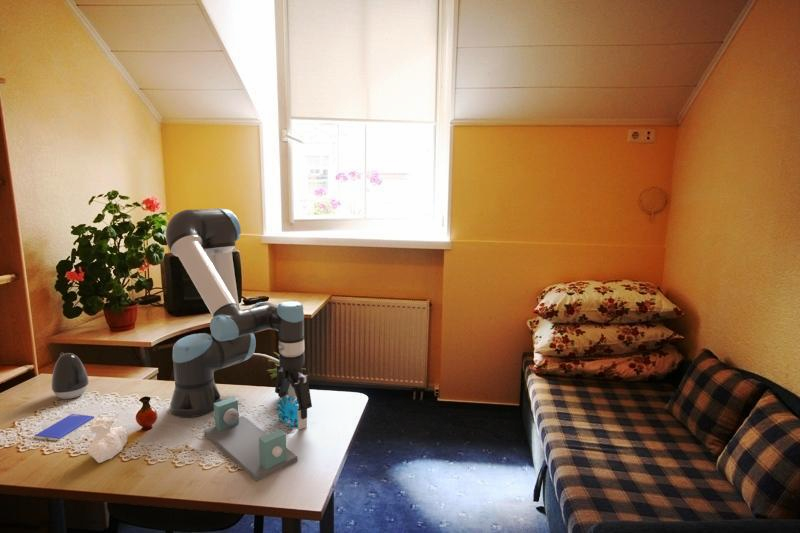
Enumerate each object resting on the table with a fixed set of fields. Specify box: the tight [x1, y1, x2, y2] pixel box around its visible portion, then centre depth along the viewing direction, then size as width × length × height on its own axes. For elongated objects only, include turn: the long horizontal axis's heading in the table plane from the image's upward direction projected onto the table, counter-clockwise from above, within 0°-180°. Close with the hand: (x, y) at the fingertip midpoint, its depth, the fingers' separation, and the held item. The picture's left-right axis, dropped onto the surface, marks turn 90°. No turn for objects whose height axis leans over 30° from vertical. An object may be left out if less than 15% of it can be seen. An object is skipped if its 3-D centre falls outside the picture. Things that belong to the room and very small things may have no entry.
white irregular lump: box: [87, 416, 129, 464], centre depth 121 cm, size 12×8×11 cm
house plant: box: [266, 351, 306, 400], centre depth 157 cm, size 14×14×16 cm
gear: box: [275, 396, 299, 428], centre depth 140 cm, size 11×6×10 cm
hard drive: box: [33, 413, 96, 442], centre depth 134 cm, size 2×8×12 cm
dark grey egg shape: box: [51, 352, 89, 400], centre depth 153 cm, size 10×10×15 cm
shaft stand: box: [203, 396, 299, 482], centre depth 125 cm, size 31×12×9 cm, turn 47°
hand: (293, 421), depth 140 cm, fingers open, 9 cm apart
